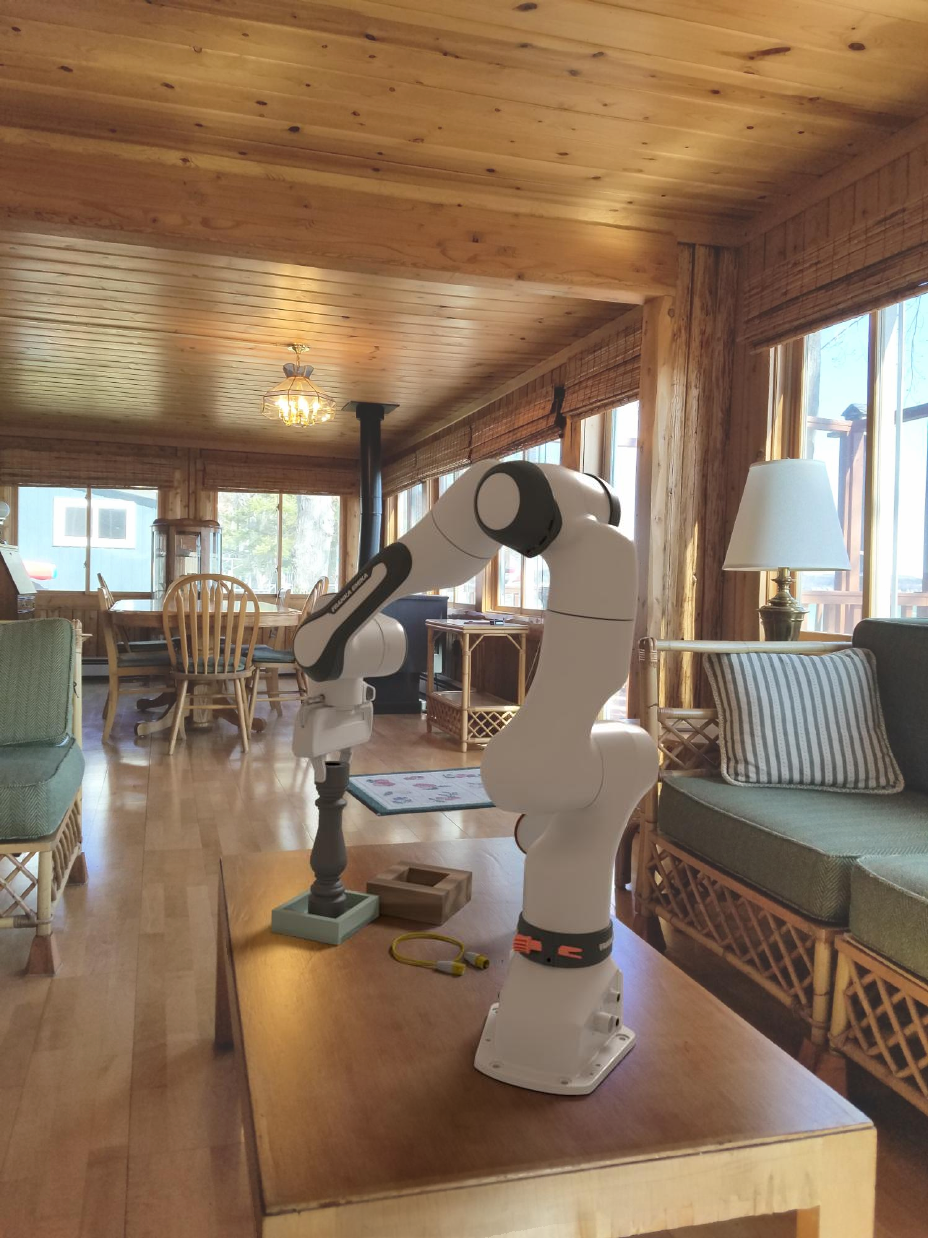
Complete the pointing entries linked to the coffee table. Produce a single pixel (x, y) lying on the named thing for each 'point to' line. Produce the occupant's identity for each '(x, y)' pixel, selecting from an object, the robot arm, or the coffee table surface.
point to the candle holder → (329, 844)
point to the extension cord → (443, 965)
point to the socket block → (421, 891)
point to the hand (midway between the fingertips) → (332, 777)
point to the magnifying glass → (530, 829)
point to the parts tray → (325, 918)
